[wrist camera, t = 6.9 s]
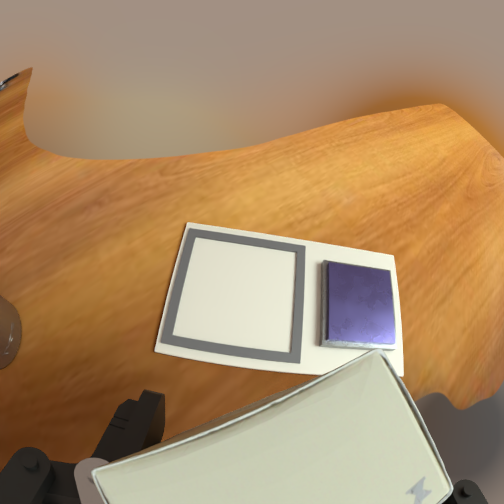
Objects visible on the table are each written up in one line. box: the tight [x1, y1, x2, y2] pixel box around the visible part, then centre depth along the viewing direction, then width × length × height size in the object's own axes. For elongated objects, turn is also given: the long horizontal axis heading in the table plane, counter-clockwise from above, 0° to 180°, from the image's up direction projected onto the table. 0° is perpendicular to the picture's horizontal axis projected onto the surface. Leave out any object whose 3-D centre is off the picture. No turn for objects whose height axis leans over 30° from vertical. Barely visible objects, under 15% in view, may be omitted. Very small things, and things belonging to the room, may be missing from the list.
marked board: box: [155, 222, 403, 377], centre depth 32 cm, size 27×16×1 cm, turn 83°
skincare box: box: [91, 348, 453, 504], centre depth 9 cm, size 6×4×12 cm
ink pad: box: [319, 260, 397, 351], centre depth 32 cm, size 9×10×2 cm
